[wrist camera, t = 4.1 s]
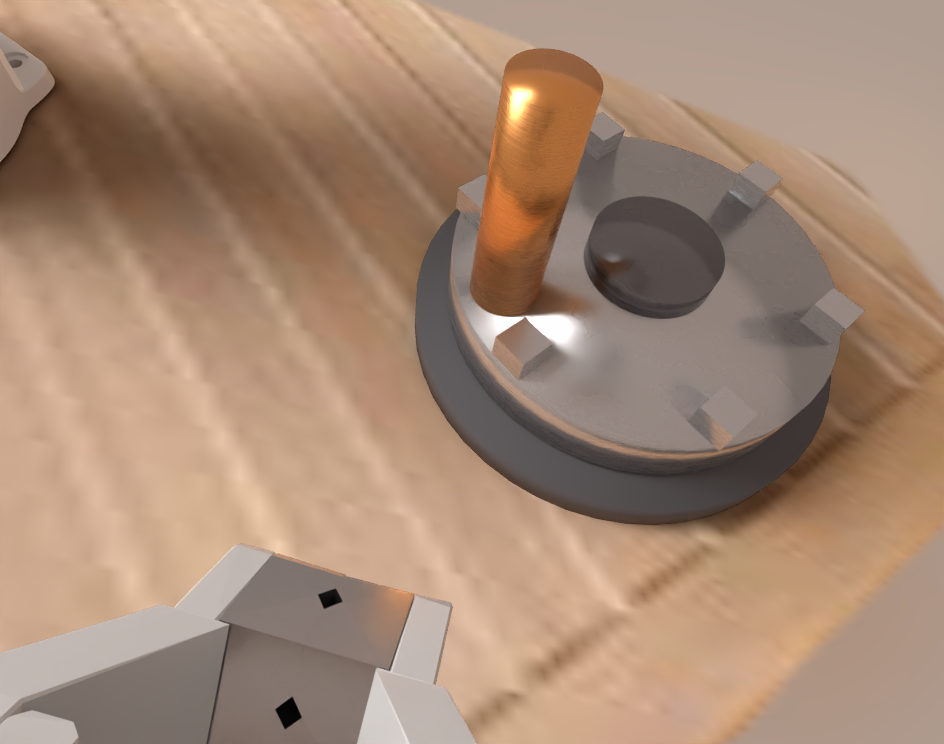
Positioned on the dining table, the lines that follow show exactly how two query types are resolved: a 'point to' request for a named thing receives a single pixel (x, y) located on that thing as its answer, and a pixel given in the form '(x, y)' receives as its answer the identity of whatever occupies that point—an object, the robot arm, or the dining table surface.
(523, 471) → the base plate
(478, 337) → the round lugged disc
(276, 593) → the robot arm
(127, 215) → the dining table surface
